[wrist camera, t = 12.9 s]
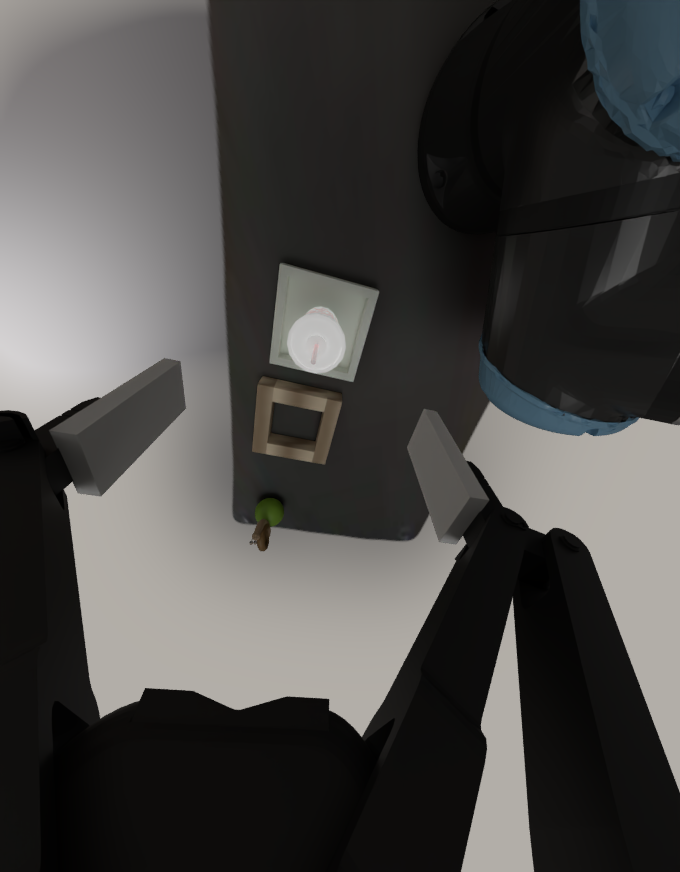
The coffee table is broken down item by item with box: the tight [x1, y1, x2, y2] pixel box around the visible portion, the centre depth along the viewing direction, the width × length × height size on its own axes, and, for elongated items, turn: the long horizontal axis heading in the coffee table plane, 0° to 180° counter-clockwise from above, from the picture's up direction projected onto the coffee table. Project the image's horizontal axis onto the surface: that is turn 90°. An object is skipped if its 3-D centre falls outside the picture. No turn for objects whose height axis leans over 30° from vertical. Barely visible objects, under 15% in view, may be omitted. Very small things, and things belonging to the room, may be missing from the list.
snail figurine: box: [250, 498, 284, 551], centre depth 50 cm, size 5×6×12 cm
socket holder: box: [252, 376, 342, 464], centre depth 43 cm, size 12×12×3 cm
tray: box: [270, 263, 379, 382], centre depth 35 cm, size 12×12×2 cm
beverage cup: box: [287, 307, 346, 374], centre depth 30 cm, size 6×6×14 cm
